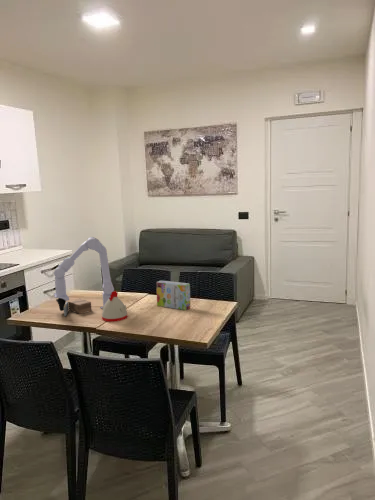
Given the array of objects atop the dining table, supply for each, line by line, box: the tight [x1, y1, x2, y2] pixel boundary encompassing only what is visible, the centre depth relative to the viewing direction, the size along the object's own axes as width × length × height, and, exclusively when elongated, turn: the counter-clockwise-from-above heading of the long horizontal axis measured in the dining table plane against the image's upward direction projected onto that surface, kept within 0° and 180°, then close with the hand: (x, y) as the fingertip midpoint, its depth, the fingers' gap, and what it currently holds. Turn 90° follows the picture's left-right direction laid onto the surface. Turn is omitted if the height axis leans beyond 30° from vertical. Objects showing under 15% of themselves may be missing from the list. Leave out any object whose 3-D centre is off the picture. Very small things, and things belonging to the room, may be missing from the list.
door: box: [63, 301, 70, 317], centre depth 237 cm, size 13×1×6 cm, turn 9°
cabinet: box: [67, 298, 92, 315], centre depth 241 cm, size 12×8×5 cm, turn 46°
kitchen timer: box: [101, 290, 128, 323], centre depth 225 cm, size 14×14×15 cm
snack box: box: [155, 280, 191, 311], centre depth 240 cm, size 21×6×15 cm, turn 58°
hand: (62, 310), depth 238 cm, fingers closed, pressing on door
